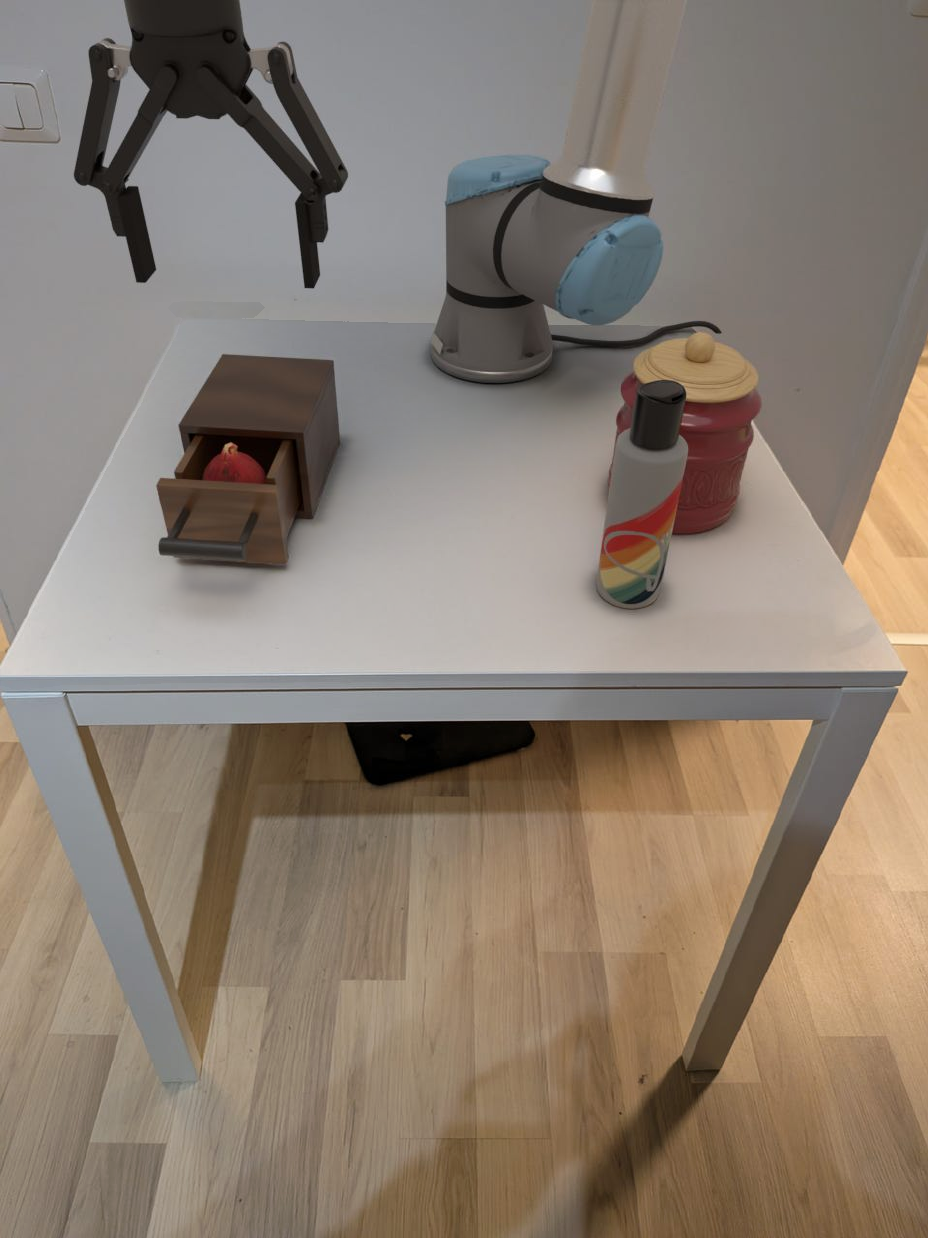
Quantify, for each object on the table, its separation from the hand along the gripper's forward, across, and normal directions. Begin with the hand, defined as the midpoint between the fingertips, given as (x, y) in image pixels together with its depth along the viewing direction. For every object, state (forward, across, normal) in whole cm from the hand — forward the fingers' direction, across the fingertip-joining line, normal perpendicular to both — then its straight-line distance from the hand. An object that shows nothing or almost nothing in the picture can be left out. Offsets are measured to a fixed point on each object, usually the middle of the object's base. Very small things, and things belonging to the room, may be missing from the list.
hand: (229, 279), depth 75 cm
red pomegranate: (+22, -2, -3) cm, 22 cm away
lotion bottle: (+24, +34, -8) cm, 43 cm away
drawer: (+23, -2, -4) cm, 23 cm away
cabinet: (+24, -1, +8) cm, 25 cm away
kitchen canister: (+24, +40, +7) cm, 47 cm away
